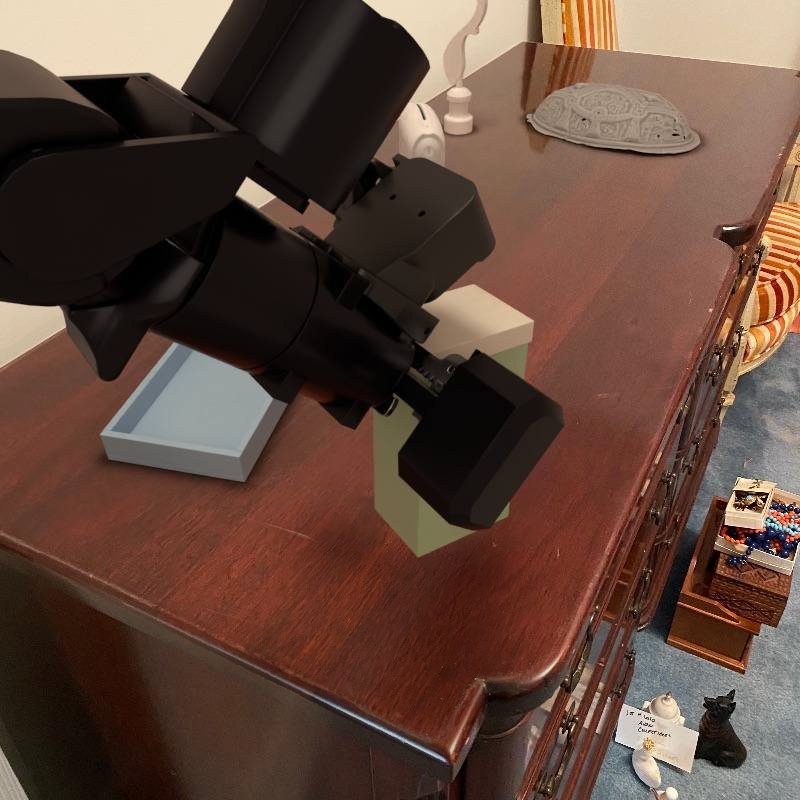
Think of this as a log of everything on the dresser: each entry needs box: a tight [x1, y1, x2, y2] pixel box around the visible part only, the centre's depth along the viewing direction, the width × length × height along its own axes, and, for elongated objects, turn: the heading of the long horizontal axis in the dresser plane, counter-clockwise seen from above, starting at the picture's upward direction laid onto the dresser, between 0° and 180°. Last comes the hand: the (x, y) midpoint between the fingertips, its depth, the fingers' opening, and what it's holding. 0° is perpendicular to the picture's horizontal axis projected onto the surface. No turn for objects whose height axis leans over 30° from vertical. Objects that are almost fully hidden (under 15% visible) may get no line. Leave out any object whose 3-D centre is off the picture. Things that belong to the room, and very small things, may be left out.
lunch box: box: [372, 283, 535, 558], centre depth 41 cm, size 7×5×13 cm
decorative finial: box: [442, 0, 489, 136], centre depth 102 cm, size 6×4×25 cm
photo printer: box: [398, 101, 446, 168], centre depth 85 cm, size 10×4×12 cm, turn 8°
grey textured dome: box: [525, 82, 701, 155], centre depth 107 cm, size 16×25×7 cm, turn 54°
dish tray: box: [99, 342, 288, 483], centre depth 67 cm, size 29×11×3 cm, turn 166°
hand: (467, 406), depth 41 cm, fingers closed on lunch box, 5 cm apart
